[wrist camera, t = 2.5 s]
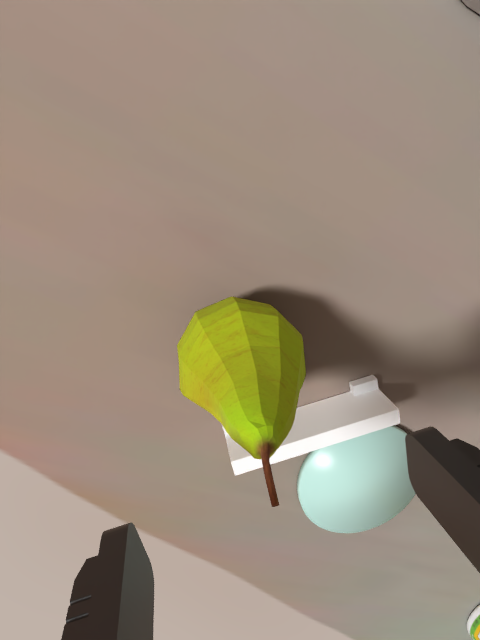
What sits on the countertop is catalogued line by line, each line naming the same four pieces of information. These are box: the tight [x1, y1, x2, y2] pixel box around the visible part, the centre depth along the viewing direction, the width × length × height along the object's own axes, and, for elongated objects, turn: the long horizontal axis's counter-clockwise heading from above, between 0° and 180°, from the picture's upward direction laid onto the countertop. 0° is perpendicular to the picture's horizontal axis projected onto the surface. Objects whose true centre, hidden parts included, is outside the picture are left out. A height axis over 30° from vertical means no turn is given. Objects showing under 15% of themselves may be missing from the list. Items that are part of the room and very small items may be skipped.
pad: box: [297, 425, 416, 533], centre depth 28 cm, size 9×9×1 cm
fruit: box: [177, 297, 306, 507], centre depth 18 cm, size 6×6×12 cm
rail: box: [222, 375, 400, 476], centre depth 24 cm, size 10×2×3 cm, turn 104°
